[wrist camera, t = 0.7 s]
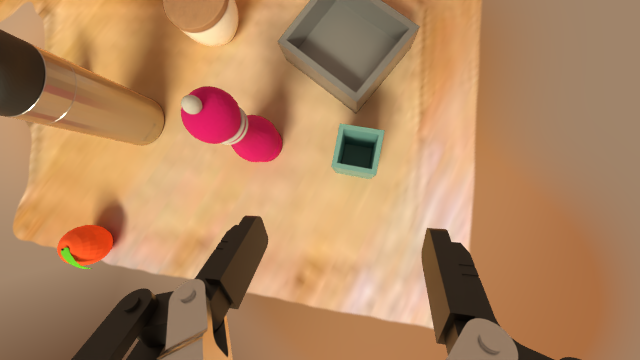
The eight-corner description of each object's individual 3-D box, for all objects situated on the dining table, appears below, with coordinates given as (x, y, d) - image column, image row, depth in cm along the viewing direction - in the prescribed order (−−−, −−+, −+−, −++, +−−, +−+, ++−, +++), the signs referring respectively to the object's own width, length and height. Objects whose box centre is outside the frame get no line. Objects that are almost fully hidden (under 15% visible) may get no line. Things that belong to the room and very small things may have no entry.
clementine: (132, 250, 44) (89, 261, 37) (105, 270, 44) (58, 286, 37) (112, 215, 44) (67, 220, 37) (86, 235, 45) (36, 244, 38)
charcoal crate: (286, 59, 41) (277, 41, 36) (337, -4, 40) (335, -31, 36) (356, 113, 39) (356, 102, 34) (410, 47, 38) (419, 26, 33)
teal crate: (336, 172, 39) (331, 166, 29) (342, 140, 39) (339, 123, 29) (369, 179, 38) (376, 174, 28) (376, 146, 38) (384, 130, 29)
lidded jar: (259, 18, 42) (233, -30, 33) (227, 67, 43) (193, 33, 33) (215, -8, 44) (178, -62, 34) (184, 40, 44) (140, 0, 35)
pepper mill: (262, 116, 41) (181, 47, 22) (293, 140, 40) (237, 91, 21) (238, 148, 42) (136, 110, 22) (268, 173, 41) (189, 155, 21)
